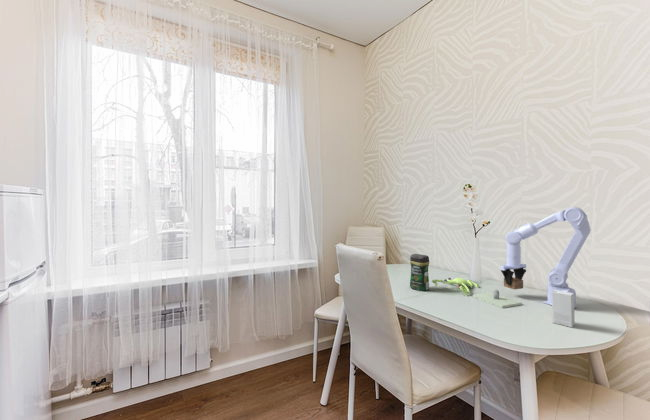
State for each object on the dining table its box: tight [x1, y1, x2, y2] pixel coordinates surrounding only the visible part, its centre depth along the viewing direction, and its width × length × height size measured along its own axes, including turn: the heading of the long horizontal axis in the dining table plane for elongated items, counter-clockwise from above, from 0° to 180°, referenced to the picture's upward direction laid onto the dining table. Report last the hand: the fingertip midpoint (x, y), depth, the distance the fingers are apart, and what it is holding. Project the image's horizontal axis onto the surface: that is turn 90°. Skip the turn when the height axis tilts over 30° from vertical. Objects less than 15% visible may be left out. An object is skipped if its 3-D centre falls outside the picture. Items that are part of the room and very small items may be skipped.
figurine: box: [431, 277, 480, 297], centre depth 157 cm, size 18×27×6 cm
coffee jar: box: [409, 253, 430, 292], centre depth 156 cm, size 10×8×19 cm
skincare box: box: [551, 290, 576, 328], centre depth 110 cm, size 6×4×12 cm
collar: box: [503, 276, 524, 290], centre depth 142 cm, size 6×6×4 cm
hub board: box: [472, 289, 523, 309], centre depth 136 cm, size 16×12×5 cm
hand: (513, 283), depth 142 cm, fingers closed on collar, 6 cm apart
